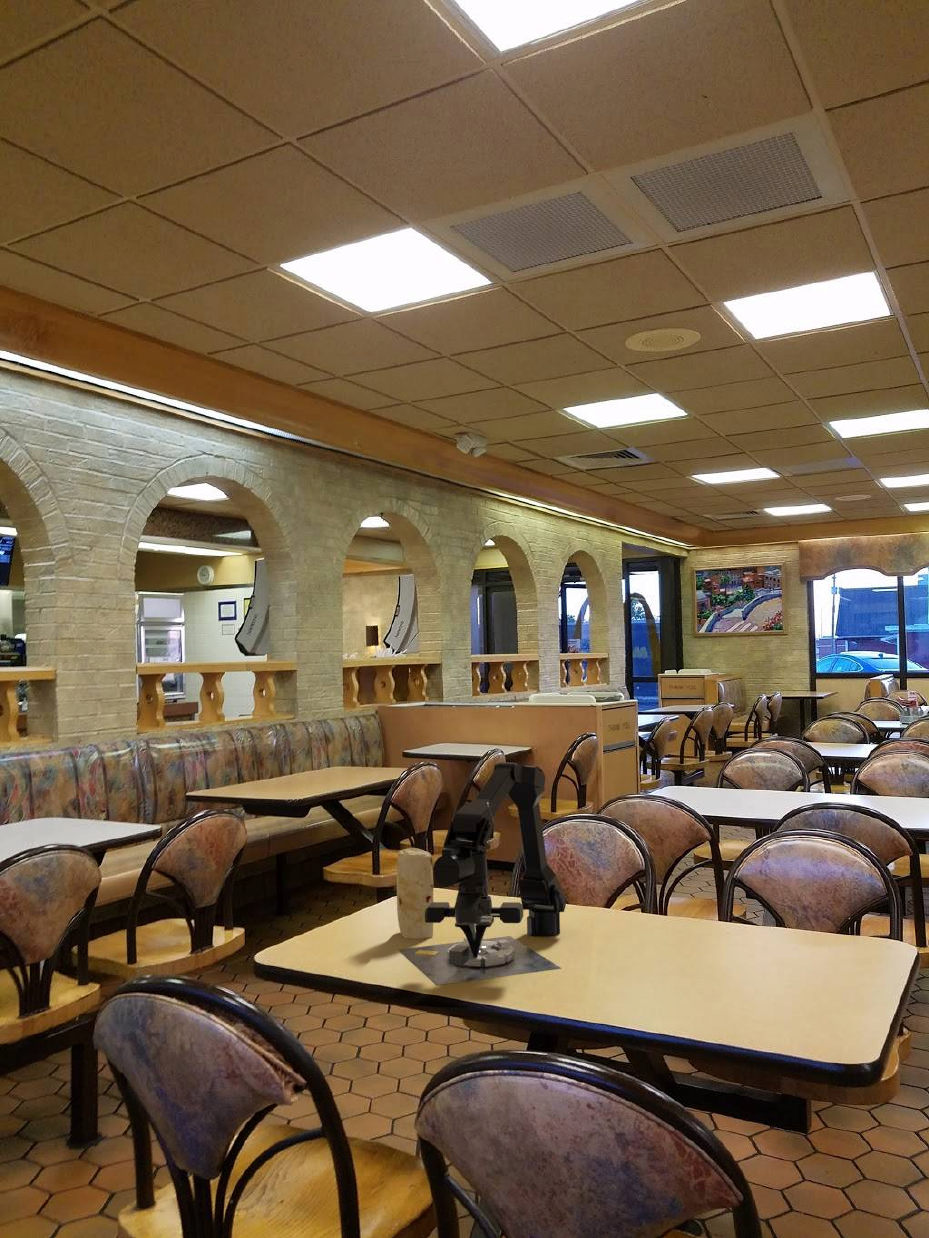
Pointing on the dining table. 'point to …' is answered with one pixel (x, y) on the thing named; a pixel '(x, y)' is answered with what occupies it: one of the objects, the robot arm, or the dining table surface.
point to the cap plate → (442, 972)
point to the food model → (414, 892)
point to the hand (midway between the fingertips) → (475, 957)
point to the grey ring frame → (495, 956)
